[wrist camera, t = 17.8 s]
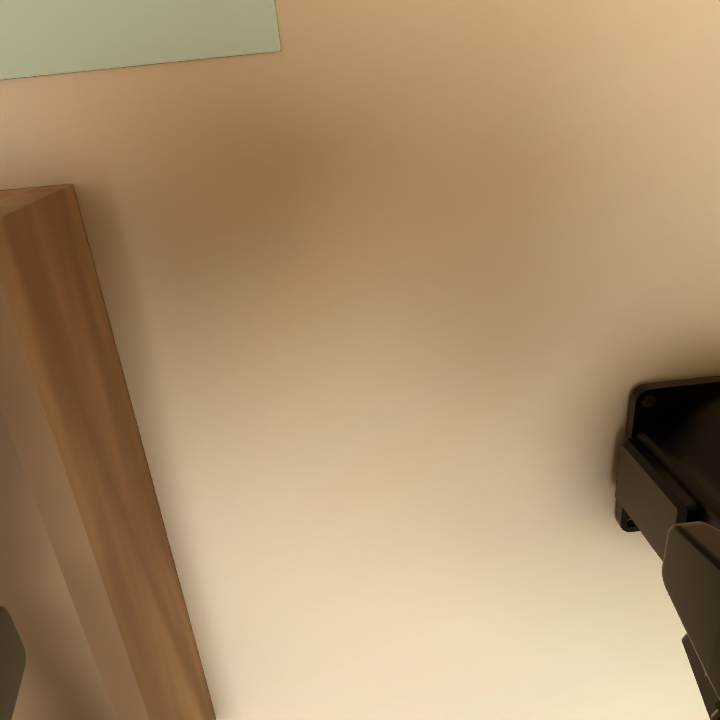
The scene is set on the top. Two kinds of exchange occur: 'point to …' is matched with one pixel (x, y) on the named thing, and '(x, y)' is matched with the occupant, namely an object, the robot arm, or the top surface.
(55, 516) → the toolbox
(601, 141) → the top surface
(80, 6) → the lid
